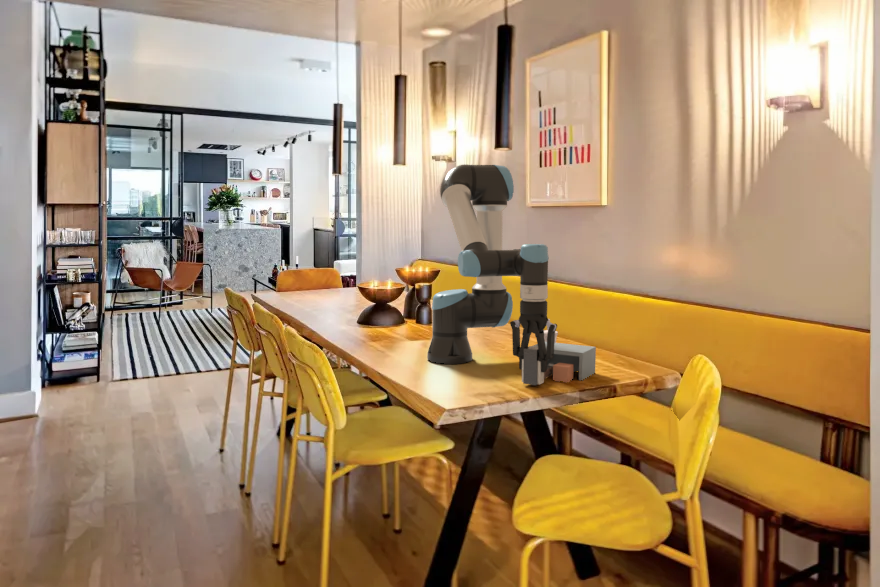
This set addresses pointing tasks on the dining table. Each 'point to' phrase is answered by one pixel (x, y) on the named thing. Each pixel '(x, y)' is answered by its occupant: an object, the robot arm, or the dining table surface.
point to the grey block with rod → (533, 366)
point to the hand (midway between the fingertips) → (532, 382)
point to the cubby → (575, 357)
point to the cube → (563, 372)
